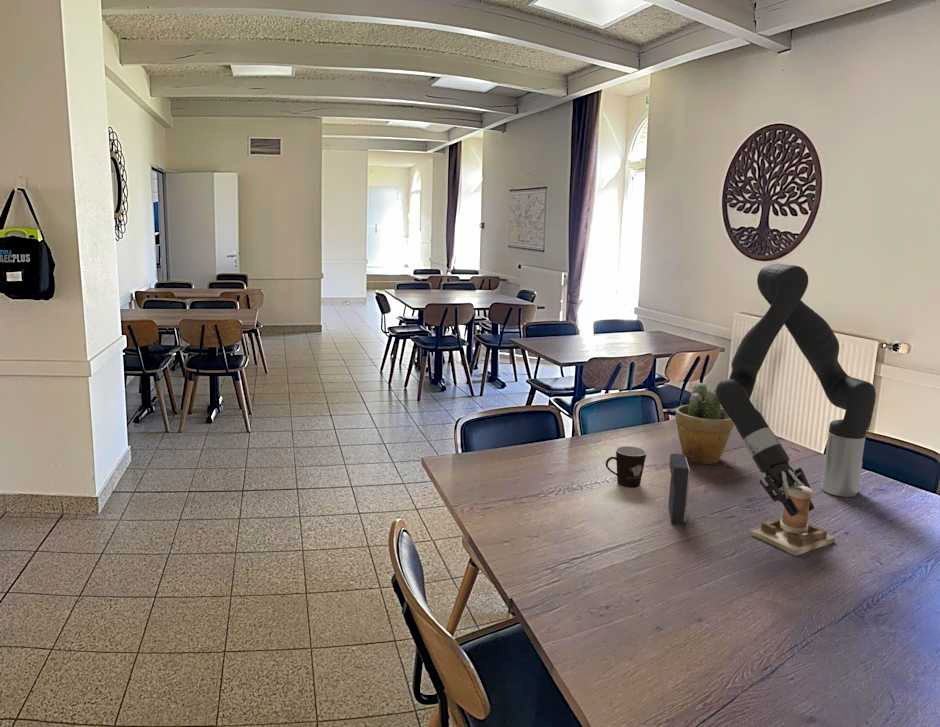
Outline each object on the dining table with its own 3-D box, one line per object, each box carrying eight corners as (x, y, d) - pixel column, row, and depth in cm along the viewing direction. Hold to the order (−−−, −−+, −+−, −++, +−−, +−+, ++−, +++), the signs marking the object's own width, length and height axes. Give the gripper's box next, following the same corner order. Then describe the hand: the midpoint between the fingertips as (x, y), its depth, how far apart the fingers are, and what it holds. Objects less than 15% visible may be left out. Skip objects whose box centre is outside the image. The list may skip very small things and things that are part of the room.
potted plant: (659, 452, 229) (665, 378, 224) (702, 446, 237) (709, 374, 231) (699, 471, 213) (706, 392, 207) (744, 463, 220) (752, 387, 215)
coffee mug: (641, 479, 205) (644, 447, 203) (645, 490, 197) (648, 456, 195) (601, 476, 206) (604, 444, 204) (604, 487, 198) (606, 454, 196)
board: (790, 522, 178) (791, 511, 177) (834, 542, 168) (836, 530, 167) (751, 535, 170) (752, 523, 170) (795, 555, 160) (797, 544, 160)
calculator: (686, 525, 175) (692, 469, 172) (668, 523, 176) (674, 467, 173) (682, 507, 185) (687, 454, 182) (665, 506, 186) (670, 453, 183)
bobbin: (790, 520, 172) (795, 482, 170) (813, 530, 167) (818, 491, 165) (774, 525, 169) (779, 486, 167) (797, 535, 164) (802, 495, 162)
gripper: (757, 447, 167) (795, 512, 159) (794, 438, 174) (833, 500, 167) (736, 461, 173) (772, 524, 165) (773, 452, 180) (810, 513, 172)
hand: (802, 512), depth 166 cm, fingers closed on bobbin, 5 cm apart
